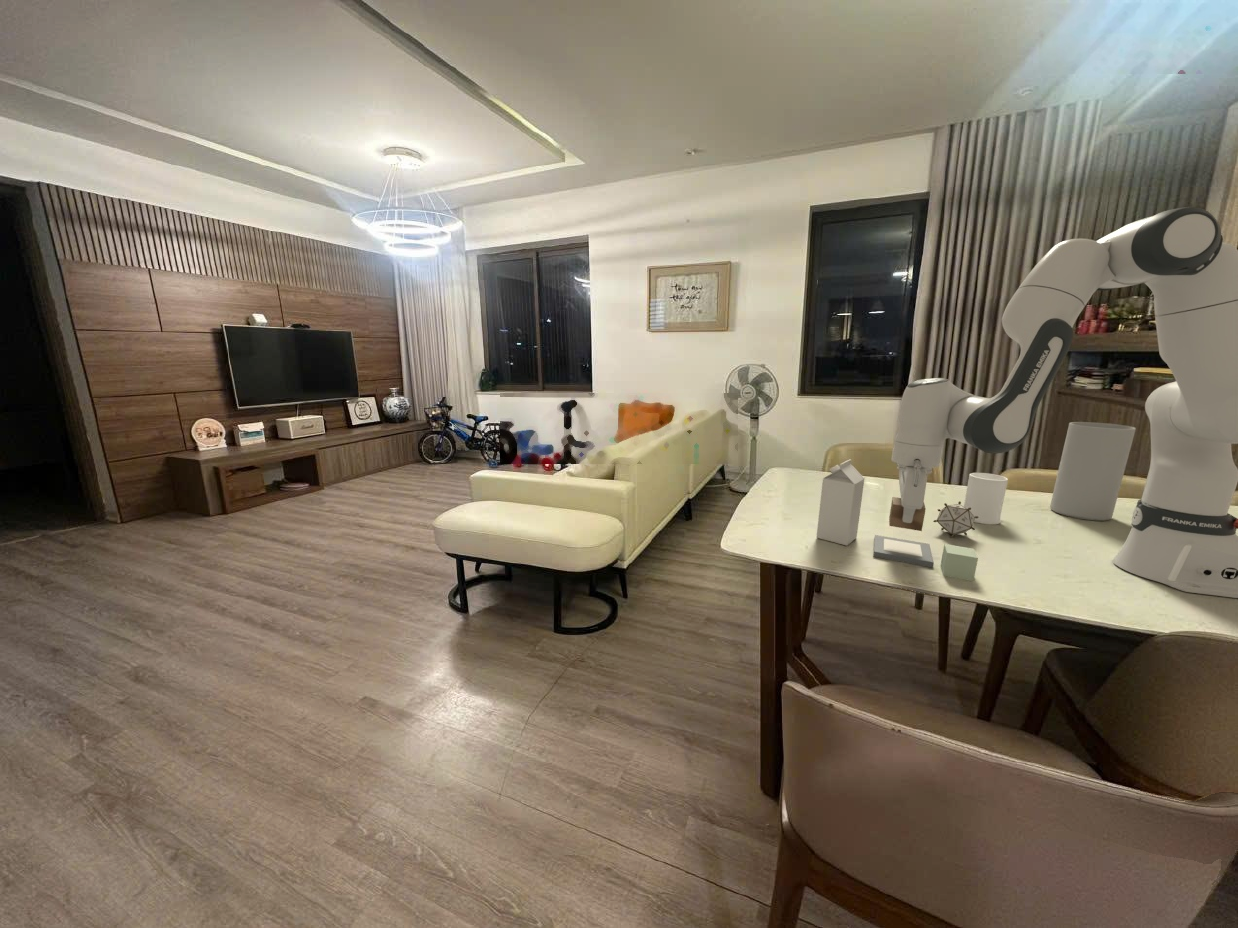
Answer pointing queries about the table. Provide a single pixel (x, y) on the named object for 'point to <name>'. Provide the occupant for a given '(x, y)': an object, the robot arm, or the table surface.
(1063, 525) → the table surface
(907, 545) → the board
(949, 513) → the game die
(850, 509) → the milk carton
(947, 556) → the sage cube
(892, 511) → the walnut block
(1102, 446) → the cylinder vase
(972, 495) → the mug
